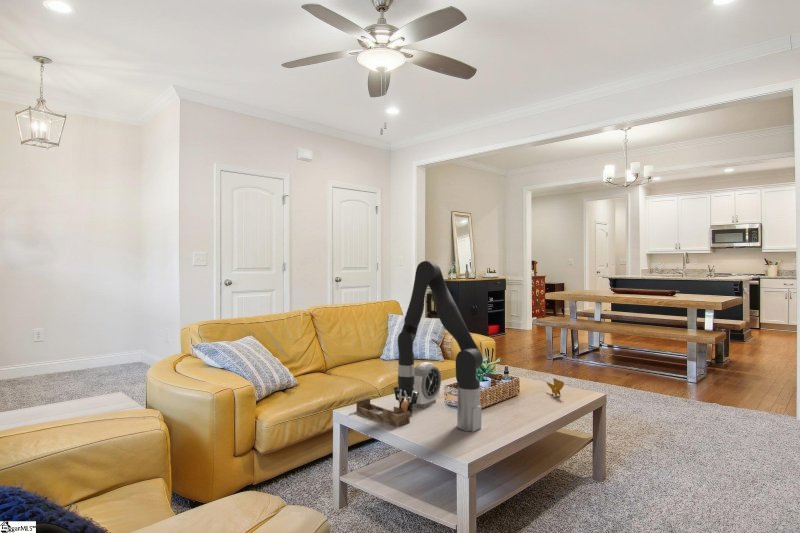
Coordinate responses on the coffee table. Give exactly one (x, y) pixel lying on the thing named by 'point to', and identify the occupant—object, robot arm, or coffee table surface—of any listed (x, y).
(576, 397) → the coffee table surface
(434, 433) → the coffee table surface
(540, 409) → the coffee table surface
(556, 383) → the toy
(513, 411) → the coffee table surface
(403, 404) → the ball
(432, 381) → the alarm clock
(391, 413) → the lane
